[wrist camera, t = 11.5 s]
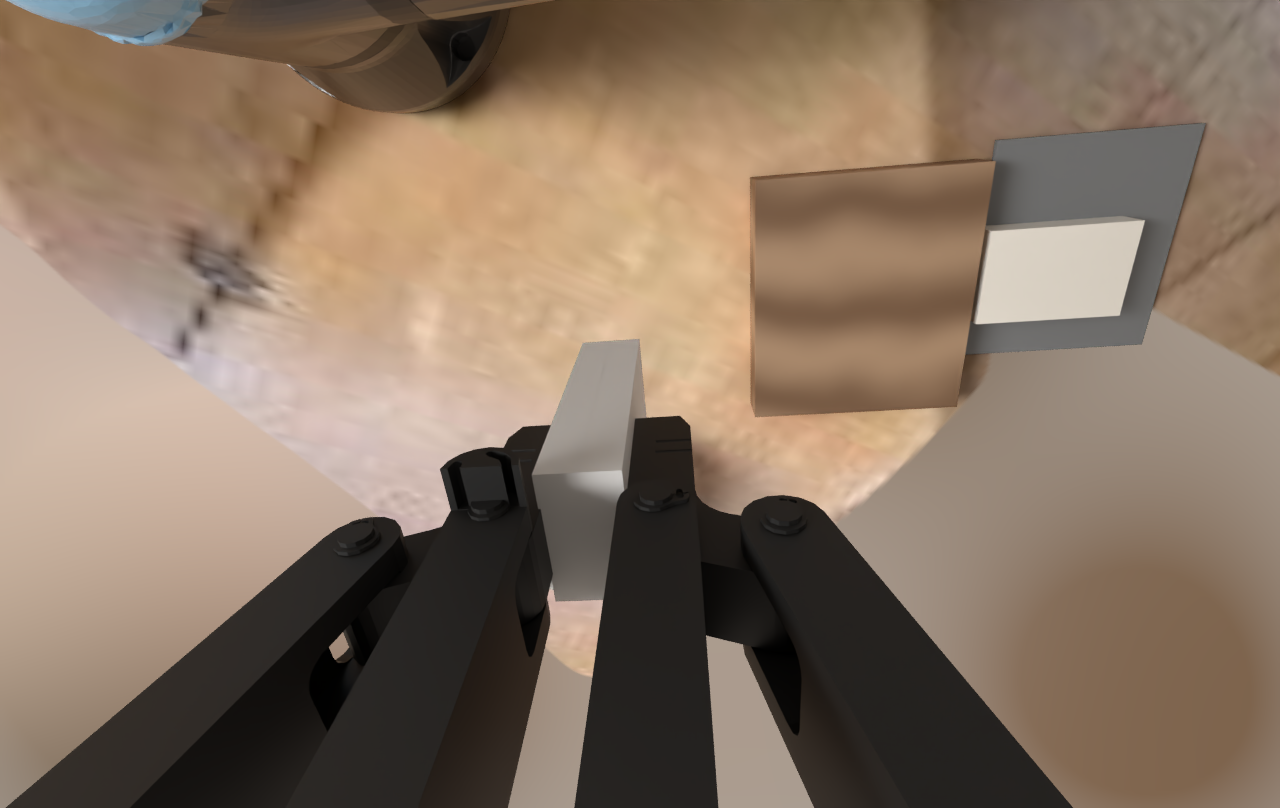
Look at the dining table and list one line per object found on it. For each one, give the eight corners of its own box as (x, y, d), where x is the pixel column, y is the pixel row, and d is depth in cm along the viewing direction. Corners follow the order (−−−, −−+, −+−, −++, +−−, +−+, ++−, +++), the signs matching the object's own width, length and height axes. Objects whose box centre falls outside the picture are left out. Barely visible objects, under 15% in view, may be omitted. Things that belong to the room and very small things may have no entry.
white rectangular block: (976, 226, 39) (991, 231, 37) (1122, 215, 38) (1145, 220, 36) (962, 315, 41) (976, 324, 39) (1099, 307, 40) (1119, 315, 39)
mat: (995, 140, 37) (997, 140, 36) (1201, 123, 36) (1205, 123, 36) (961, 353, 43) (963, 354, 42) (1138, 342, 42) (1141, 344, 41)
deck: (750, 177, 38) (755, 180, 36) (976, 158, 37) (995, 161, 35) (750, 402, 45) (755, 417, 43) (941, 392, 44) (956, 406, 42)
